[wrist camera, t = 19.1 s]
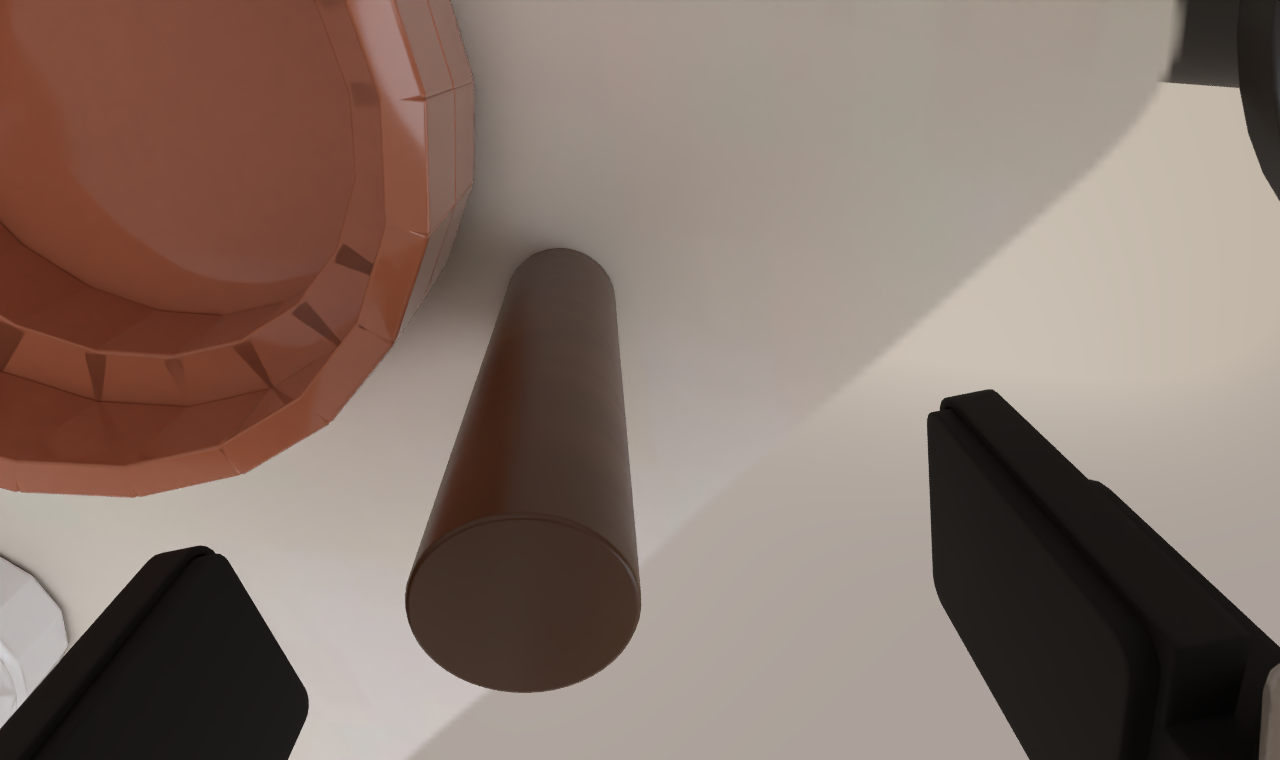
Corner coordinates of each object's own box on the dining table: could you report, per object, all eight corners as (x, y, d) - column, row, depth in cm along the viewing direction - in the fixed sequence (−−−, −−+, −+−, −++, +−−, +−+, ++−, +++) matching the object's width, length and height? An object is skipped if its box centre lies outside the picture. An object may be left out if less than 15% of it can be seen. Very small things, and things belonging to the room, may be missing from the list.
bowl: (343, -386, 14) (180, -662, 8) (545, 312, 20) (528, 413, 15) (-359, -199, 14) (-940, -345, 9) (54, 422, 21) (-138, 559, 15)
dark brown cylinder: (600, 236, 19) (611, 492, 8) (625, 337, 20) (662, 670, 10) (493, 261, 19) (367, 543, 8) (524, 359, 21) (449, 713, 10)
